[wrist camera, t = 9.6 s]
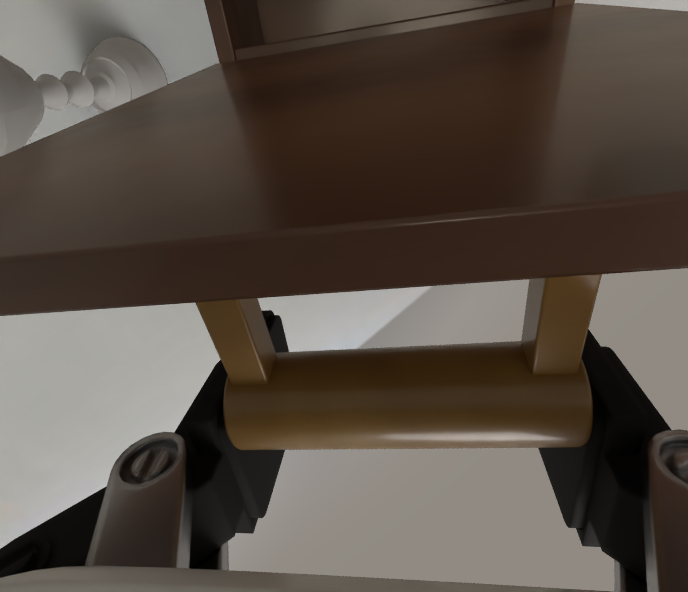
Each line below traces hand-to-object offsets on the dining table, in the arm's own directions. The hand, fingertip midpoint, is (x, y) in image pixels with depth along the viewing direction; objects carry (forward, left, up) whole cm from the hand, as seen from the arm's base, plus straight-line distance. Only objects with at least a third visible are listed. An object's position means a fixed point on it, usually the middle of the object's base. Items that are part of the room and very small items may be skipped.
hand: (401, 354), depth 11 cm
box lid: (-6, 0, -3) cm, 7 cm away
